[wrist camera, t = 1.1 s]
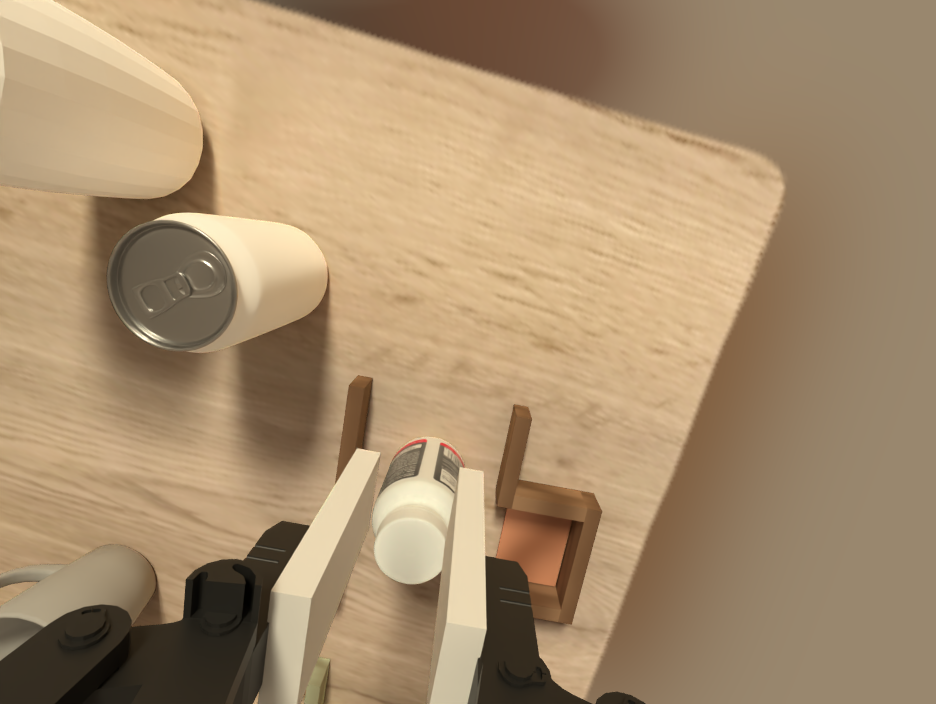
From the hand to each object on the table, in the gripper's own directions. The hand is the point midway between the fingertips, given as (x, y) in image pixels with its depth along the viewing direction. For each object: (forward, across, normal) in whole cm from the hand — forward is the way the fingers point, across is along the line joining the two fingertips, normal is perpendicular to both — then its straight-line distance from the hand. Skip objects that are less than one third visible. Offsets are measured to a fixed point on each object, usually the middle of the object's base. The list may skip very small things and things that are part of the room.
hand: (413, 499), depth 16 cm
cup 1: (+19, -21, +11) cm, 30 cm away
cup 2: (+19, -23, -21) cm, 36 cm away
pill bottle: (+19, 0, -8) cm, 20 cm away
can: (+19, -12, +4) cm, 23 cm away
